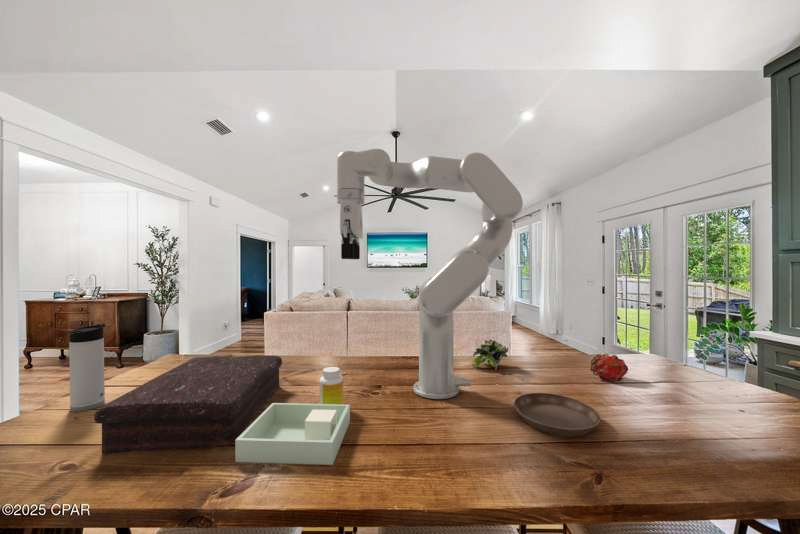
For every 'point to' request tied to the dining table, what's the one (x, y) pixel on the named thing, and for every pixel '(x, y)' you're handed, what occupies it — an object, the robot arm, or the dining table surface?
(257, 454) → the pale green tray
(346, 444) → the dining table surface
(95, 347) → the travel mug
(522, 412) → the plant saucer
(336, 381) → the supplement bottle
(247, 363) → the folded brown towel
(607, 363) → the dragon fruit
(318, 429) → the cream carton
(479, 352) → the green leafy plant
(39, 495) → the dining table surface
